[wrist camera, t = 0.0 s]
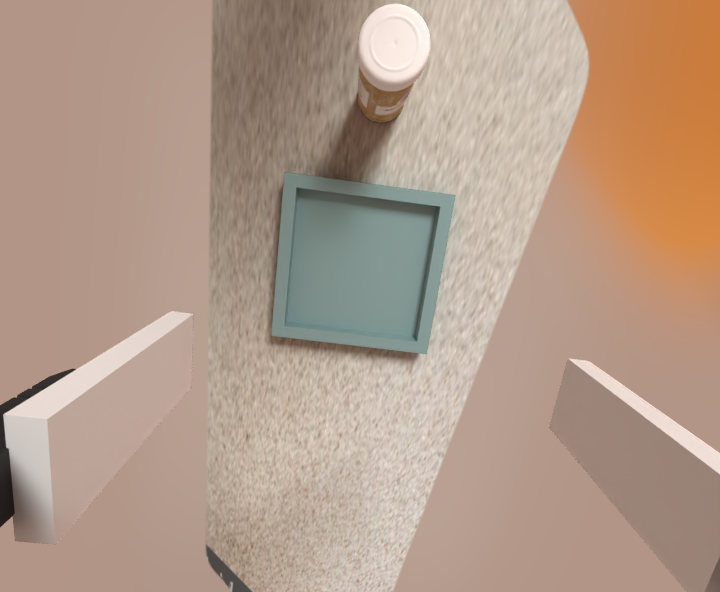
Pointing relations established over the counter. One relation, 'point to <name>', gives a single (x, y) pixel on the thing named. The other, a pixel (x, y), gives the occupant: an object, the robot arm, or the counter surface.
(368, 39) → the sprinkles bottle
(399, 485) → the counter surface
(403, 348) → the tray
